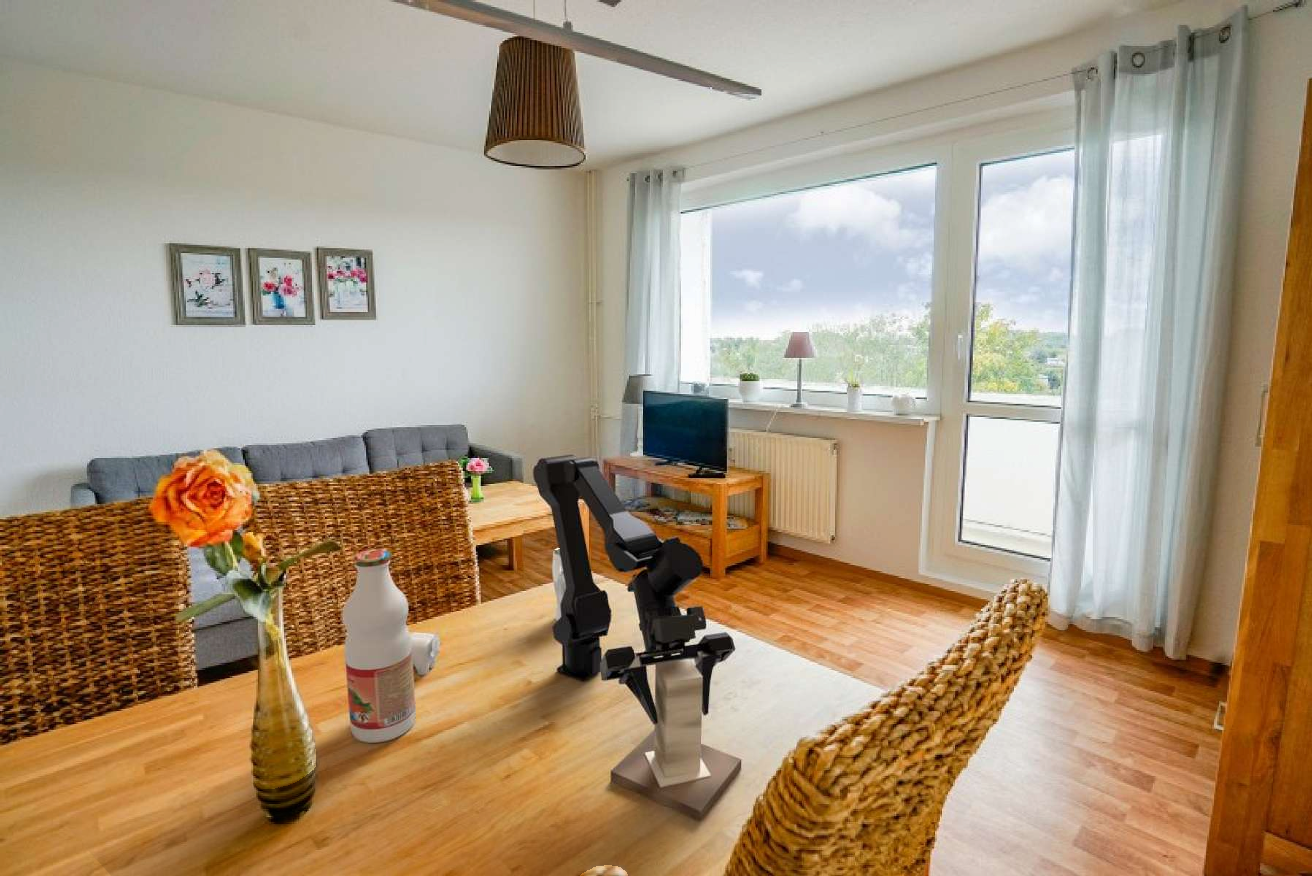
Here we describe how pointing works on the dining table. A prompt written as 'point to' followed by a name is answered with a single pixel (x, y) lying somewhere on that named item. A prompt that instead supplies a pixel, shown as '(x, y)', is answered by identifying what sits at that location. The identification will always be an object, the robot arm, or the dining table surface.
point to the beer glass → (558, 580)
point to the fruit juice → (378, 653)
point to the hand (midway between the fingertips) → (681, 719)
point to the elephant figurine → (424, 651)
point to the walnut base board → (677, 779)
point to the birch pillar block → (678, 717)
